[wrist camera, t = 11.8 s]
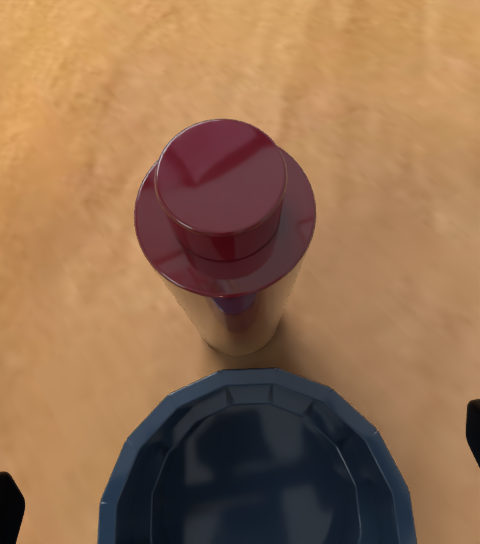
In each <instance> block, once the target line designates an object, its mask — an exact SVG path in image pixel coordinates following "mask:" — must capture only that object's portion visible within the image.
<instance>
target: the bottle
mask: <svg viewBox="0 0 480 544" xmlns="http://www.w3.org/2000/svg"><path fill="white" fill-rule="evenodd" d="M315 223H316V203H315V198H314V193H313V190H312V187H311V184H310V182H309V180H308V178H307V176H306V175H305V173H304V172H303V170H302V169H301V167H300V166H299V164H298V163H297V162H296V161H295V160H294V159H293V158H292V157H291V156H290V155H289V154H288V153H287V152H285V151H284V150H283V149H281V148H280V147H278V146H277V145H276V144H275V143H274V141H273V140H272V139H271V138H270V137H269V136H268V135H267V134H265V133H264V132H263V131H261V130H260V129H258V128H257V127H255V126H253V125H251V124H248V123H245V122H242V121H238V120H232V119H212V120H207V121H202V122H199V123H196V124H194V125H192V126H190V127H187V128H186V129H184V130H183V131H181V132H180V133H178V134H177V135H176V136H175V137H174V138H173V139H172V140H171V141H170V142H169V143H168V144H167V145H166V147H165V148H164V150H163V151H162V153H161V155H160V157H159V159H158V160H157V161H156V162H155V163H154V165H153V166H152V167H151V169H150V170H149V171H148V173H147V174H146V176H145V178H144V180H143V181H142V184H141V186H140V189H139V191H138V194H137V198H136V202H135V210H134V225H135V231H136V236H137V239H138V242H139V245H140V247H141V249H142V251H143V253H144V255H145V257H146V258H147V260H148V261H149V263H150V264H151V266H152V267H153V268H154V270H155V271H156V272H157V274H158V275H159V277H160V278H161V279H162V281H163V282H164V284H165V285H166V286H167V288H168V289H169V291H170V292H171V293H172V295H173V296H174V298H175V299H176V300H177V302H178V303H179V304H180V306H181V307H182V309H183V310H184V311H185V313H186V314H187V316H188V317H189V318H190V320H191V321H192V323H193V324H194V325H195V327H196V328H197V330H198V331H199V332H200V334H201V335H202V336H203V338H204V339H205V341H206V342H207V343H208V344H209V345H210V346H212V347H213V348H214V349H216V350H217V351H220V352H222V353H225V354H228V355H236V356H240V355H247V354H251V353H253V352H256V351H257V350H259V349H261V348H262V347H264V346H265V345H266V344H267V343H268V342H269V341H270V339H271V338H272V337H273V335H274V333H275V331H276V329H277V326H278V324H279V321H280V319H281V316H282V314H283V311H284V308H285V306H286V303H287V301H288V298H289V296H290V293H291V291H292V288H293V286H294V283H295V281H296V278H297V276H298V273H299V270H300V268H301V265H302V263H303V260H304V258H305V255H306V253H307V250H308V248H309V245H310V243H311V240H312V237H313V233H314V229H315Z"/></svg>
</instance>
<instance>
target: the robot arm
mask: <svg viewBox="0 0 480 544" xmlns="http://www.w3.org/2000/svg"><path fill="white" fill-rule="evenodd" d="M466 438H467V442H468V444H469V447H470V449H471V451H472V453H473V455H474V457H475V459H476V461H477V463H478V465H479V467H480V399H476V400H471V401H470V402H469V403H468V405H467V418H466ZM24 511H25V500H24V497H23V495H22V493H21V492H20V490H19V488H18V486H17V485H16V483H15V481H14V480H13V478H12V476H11V475H10V474H9V473H8V472H4V471H3V472H0V544H16V541H17V537H18V533H19V530H20V526H21V522H22V519H23V515H24Z"/></svg>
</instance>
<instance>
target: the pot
mask: <svg viewBox="0 0 480 544" xmlns="http://www.w3.org/2000/svg"><path fill="white" fill-rule="evenodd" d="M97 544H417V539H416V532H415V525H414V518H413V512H412V505H411V498H410V492H409V490H408V486H407V484H406V483H405V481H404V479H403V477H402V475H401V473H400V471H399V469H398V467H397V465H396V464H395V462H394V460H393V458H392V456H391V454H390V452H389V450H388V448H387V446H386V445H385V443H384V441H383V439H382V437H381V435H380V433H379V431H377V429H376V428H375V427H374V426H373V425H372V424H371V423H370V422H369V421H368V420H366V419H365V418H364V417H363V416H362V415H361V414H360V413H359V412H358V411H356V410H355V409H354V408H353V407H352V406H351V405H350V404H349V403H348V402H347V401H345V400H344V399H343V398H342V397H341V396H340V395H339V394H338V393H337V392H335V391H334V390H333V389H331V388H330V387H328V386H325V385H323V384H320V383H317V382H315V381H312V380H309V379H307V378H304V377H301V376H298V375H296V374H293V373H290V372H288V371H285V370H282V369H280V368H250V369H226V370H221V371H220V370H219V371H217V372H215V373H212V374H210V375H208V376H206V377H204V378H202V379H200V380H197V381H195V382H193V383H191V384H189V385H187V386H185V387H183V388H180V389H178V390H176V391H174V392H172V393H170V394H169V395H167V396H166V397H165V398H164V399H163V400H162V401H161V402H160V404H159V405H158V406H157V407H156V408H155V409H154V410H153V411H152V412H151V413H150V414H149V415H148V416H147V417H146V419H145V420H144V421H143V422H142V423H141V424H140V425H139V426H138V427H137V428H136V429H135V430H134V431H133V432H132V433H131V435H130V436H129V437H128V438H127V440H126V441H125V443H124V445H123V448H122V450H121V452H120V455H119V457H118V460H117V462H116V464H115V467H114V469H113V471H112V474H111V476H110V479H109V481H108V483H107V486H106V488H105V490H104V493H103V495H102V498H101V502H100V506H99V523H98V540H97Z"/></svg>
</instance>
